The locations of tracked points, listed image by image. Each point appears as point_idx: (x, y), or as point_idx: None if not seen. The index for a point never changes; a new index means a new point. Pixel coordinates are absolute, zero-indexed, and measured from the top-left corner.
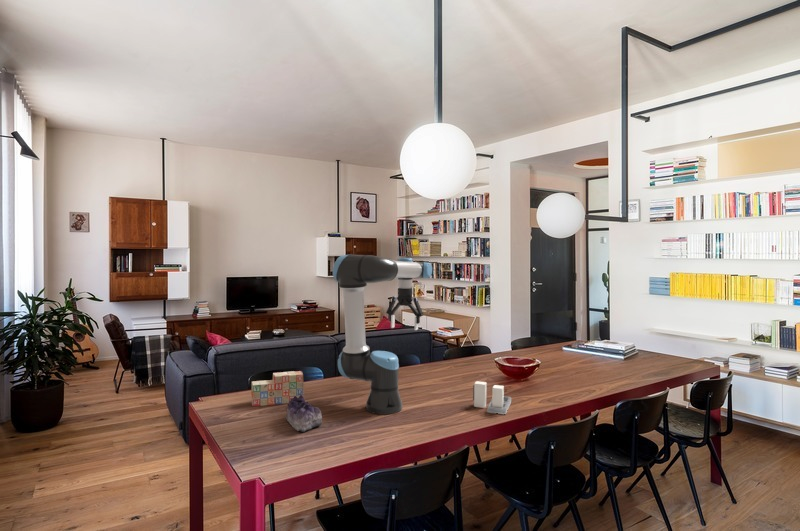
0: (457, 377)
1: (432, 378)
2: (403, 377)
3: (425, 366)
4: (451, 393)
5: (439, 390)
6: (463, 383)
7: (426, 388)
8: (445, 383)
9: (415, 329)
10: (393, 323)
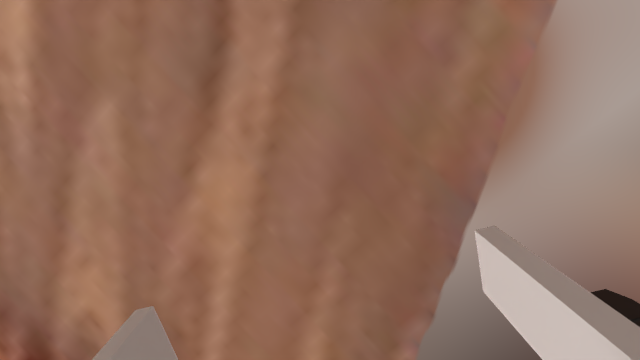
0: (192, 319)
1: (245, 250)
2: (335, 184)
3: (377, 356)
4: (54, 145)
5: (111, 144)
6: (123, 275)
7: (162, 129)
8: (164, 232)
9: (133, 315)
10: (514, 297)
